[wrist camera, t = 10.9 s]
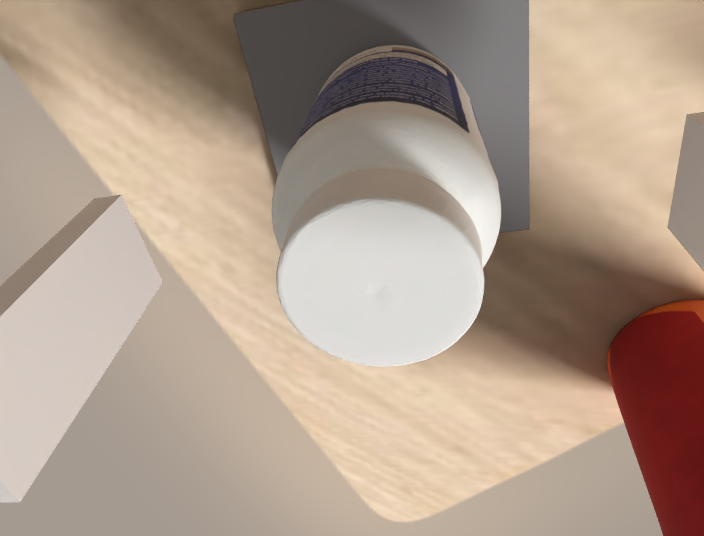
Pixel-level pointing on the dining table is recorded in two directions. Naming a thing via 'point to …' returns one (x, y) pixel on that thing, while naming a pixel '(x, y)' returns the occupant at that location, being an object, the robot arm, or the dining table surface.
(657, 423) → the coffee cup
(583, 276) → the dining table surface
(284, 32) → the coaster
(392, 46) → the pill bottle
